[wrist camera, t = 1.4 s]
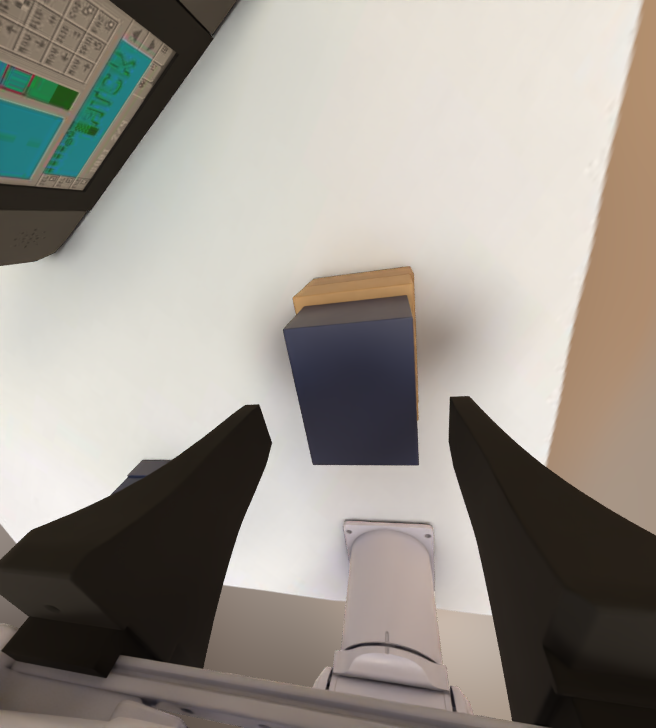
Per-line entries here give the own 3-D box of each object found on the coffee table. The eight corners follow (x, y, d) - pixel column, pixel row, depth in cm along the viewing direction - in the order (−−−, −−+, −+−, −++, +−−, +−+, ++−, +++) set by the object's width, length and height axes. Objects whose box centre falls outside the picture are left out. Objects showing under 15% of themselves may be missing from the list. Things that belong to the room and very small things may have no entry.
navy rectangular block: (413, 420, 17) (419, 466, 14) (325, 422, 18) (312, 465, 15) (407, 294, 14) (413, 316, 11) (303, 306, 15) (282, 329, 12)
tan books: (415, 383, 22) (422, 427, 17) (331, 387, 23) (318, 429, 18) (410, 266, 18) (418, 282, 14) (313, 278, 20) (291, 297, 15)
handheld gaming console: (60, 264, 22) (-157, 297, 13) (28, 231, 22) (-223, 243, 13) (294, -59, 13) (114, -602, 4) (253, -133, 13) (-58, -948, 4)
